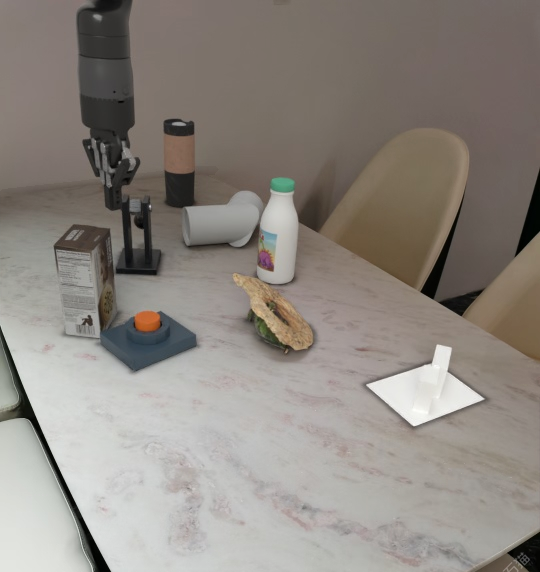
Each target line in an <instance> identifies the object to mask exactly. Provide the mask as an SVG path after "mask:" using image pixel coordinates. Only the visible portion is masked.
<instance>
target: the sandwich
mask: <svg viewBox="0 0 540 572" xmlns="http://www.w3.org/2000/svg"><path fill="white" fill-rule="evenodd" d="M232 278H233V281H234V282H235V283H236V286H237V287H239V288H241V289H243V290H244V291H245V293H247V295H248V297H249V298H250V300H249V303H250V308H249V311H248V313H247V319H248V321H249V322H252V319H253V318H254V319H253V324H254V328H255V331H256V334H257V335H258V336H259V337H260V338H261V339H262V340H263V342H265V343H266V344H268V345H269V344H270V345H271V346H274V347H277V348H280V349H282V350H284V352H283V354H284V355H286V354H287V353H288V352H289V351H290V350H289V348H287V346H290V347H291V348H292V349H293V350H294V351H300V350H308V349H309V347H310V346H312V345H313V342H314V334H313V330H312V328H311V327H310V325H309V324H308V322H307V321H306V320H305V319H304V318H303V316H302V315H301V314H300V313H299V312H298V310H297V309H296V308H295V306H294V305H293V304H292V303H291V302H290V301H288V299H286V298H285V297H284V296H283V294H281V293H280V292H278V291H277V290H276V289H274V287H272V286H271V285H269V283H267V282H264V281H262V280H260V279H259V278H258V277H254V276H249V275H242V274H239V273H237V272H234V273H233V274H232ZM286 345H287V346H286Z"/></svg>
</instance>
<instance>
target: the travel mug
mask: <svg viewBox="0 0 540 572" xmlns="http://www.w3.org/2000/svg"><path fill="white" fill-rule="evenodd" d="M162 125H163V164H164V165H163V169H164V170H163V171H164V172H163V173H164V186H165V202H166V204H167V205H168V206H171V207H175V208H183V207H191V206H194V202H195V179H196V177H195V176H196V149H195V147H196V145H195V143H196V142H195V141H196V140H195V122H194V121H193V120H189V121H184V120H183V119H182V118H168V119H167V118H166V119H165V120H163V124H162Z"/></svg>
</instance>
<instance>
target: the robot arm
mask: <svg viewBox="0 0 540 572" xmlns="http://www.w3.org/2000/svg"><path fill="white" fill-rule="evenodd" d="M133 2H134V1H133V0H85V1H84V2H83V3H82V4H80V6H79V7H77V9H76V10H75V13H74V26H75V34H76V35H75V37H76V50H77V70H76V71H77V84H78V96H79V107H80V118H81V120H80V121H81V123H82V124H83V126H85V128H88V129H89V136H90V137H88V138H83V139H82V140H81V143H82V147H83V149H84V151H85V154H86V156H87V159H88V161H89V164H90V166H91V170H92V173H93V174H94V176H95V177H96V178H99V180H100V184H102V186H103V194H104V195H103V196H104V206H105V209H108V210H109V211H111V212H115V211H121V210H120V209H121V208H122V199H123V193H122V192H123V191H122V188H123V187H124V186H129V185H131V183H132V181H133V180H134V178H135V176H136V173H137V171H138V170H139V167H140V166H141V159H140V157H139V156H133V154H132V152H131V151H130V149H131V141H130V138H129V131H130V129H132V128H133V127H134V126H135V125H136V114H135V112H136V111H135V87H134V85H135V84H134V71H133V66H132V59H131V36H130V35H131V33H130V17H131V11H132V8H133Z"/></svg>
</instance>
